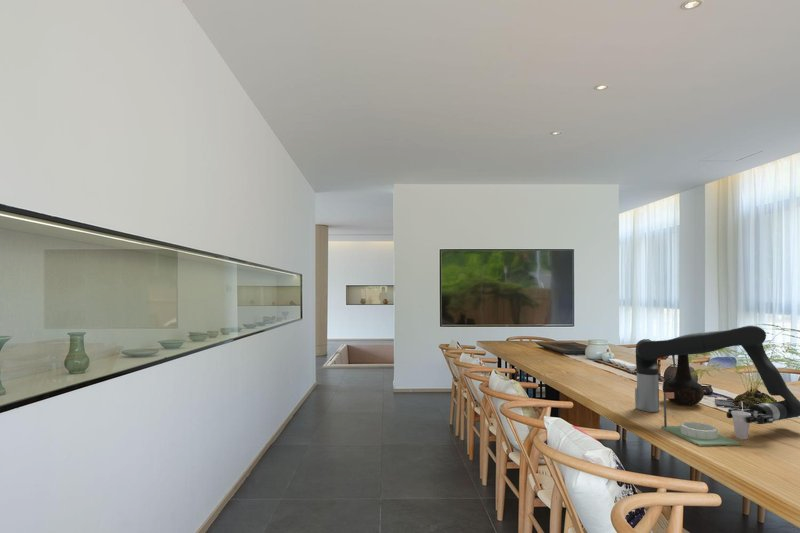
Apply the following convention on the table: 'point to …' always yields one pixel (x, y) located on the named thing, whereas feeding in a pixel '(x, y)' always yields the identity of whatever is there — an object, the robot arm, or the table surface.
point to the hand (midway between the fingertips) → (737, 417)
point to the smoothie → (740, 423)
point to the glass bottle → (683, 385)
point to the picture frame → (725, 403)
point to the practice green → (697, 430)
